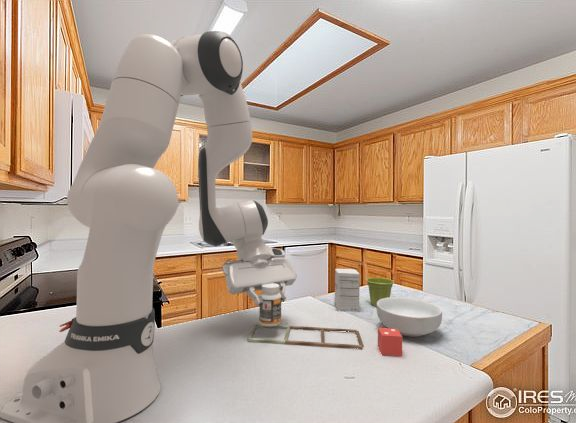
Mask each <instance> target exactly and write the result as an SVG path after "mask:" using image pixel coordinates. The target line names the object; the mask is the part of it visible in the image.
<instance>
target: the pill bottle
mask: <svg viewBox="0 0 576 423" xmlns="http://www.w3.org/2000/svg"><path fill="white" fill-rule="evenodd" d="M261 291H262V292H261V293H260V295H259V296H261V297H262V300H263V303H262V305H258V306H259V309H258V312H259V313H258V314H259V315H258V317H259V318H258V319H259V324H261V325H263V326H277V325H281V322H282V301H281V294H280V290H279V285H278V284H275V283H270V284H264V285H262V290H261Z"/></svg>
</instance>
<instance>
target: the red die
mask: <svg viewBox="0 0 576 423" xmlns="http://www.w3.org/2000/svg"><path fill="white" fill-rule="evenodd" d="M378 347H379V348H378ZM377 348H378V350H379V352H381V353H380V355H381V354H382V355H381V356H386V355H394V356H393V357H401V356H402V357H403V335H401V334H400V332H399V331H398V329H394V328H388V327H377Z"/></svg>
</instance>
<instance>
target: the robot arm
mask: <svg viewBox="0 0 576 423" xmlns="http://www.w3.org/2000/svg"><path fill="white" fill-rule="evenodd" d="M243 64H244V62H243V56H242V52H241V50H240V48H239V46H238V44H237V42H236V41H235V40H234V39H233V38H232V37H231V36H230V35H229V34H228V33H227V32H224V31H217V30H211V31H210V30H209V31H205V32H204V33H203V32H202V33H201V34H200V33H199V34H193V35H189V36H182V37H179V38H176V39H174V40H172V41H169V40H167V39H165V38H163V37H161V36H159V35H158V34H157V35H156V34H152V33H141V34H139V35H136V36H135V37H133V38H132V39H131V40H130V41H129V43H128V45H127V47H126V48H125V50H124V52H123V53H122V55H121V58H120V60H119V62H118V65H117V67H116V69H115V72H114V75H113V77H112V81H111V84H110V88H109V91H108V94H107V98H106V101H105V105H104V108H103V112H102V115H101V119H100V121H99V124H98V127H97V129H96V131H95V134H94V135H93V137H92V139H91V141H90V143H89V146H88V148H87V150H86V152H85V154H84V156H83V159H82V161H81V164H80V166H79V168H78V170H77V172H76V175H75V177H74V180H73V182H72V183H71V186H70V187H69V190H68V191H67V196H66V204H67V208H68V209H69V211H70V213H71V215H72V216H73V218H75V219H76V220H77V221H78V222H79V223H80V224H82V225H83V226H86V227H87V228H88V229H89V232H88V237H87V241H86V244H85V245H86V246H85V250H84V254H83V256H82V261H81V263H80V265H79V266H78V269H77V274H76V310H75V312H76V315H75V317H73V318H72V319H71V320H70V321H67V322H65V323H62V324H60V325H59V327H63V328H60V330H59V331H58V332H59V333H62V332H65V331H66V330H68V331H67V334H66V337H65V339H64V341H63V342H61V343H60V344H59V345H58V346H56V347H55V348H53V349H52V350H51V351H50V352H47V353H46V355H44V356H43V357H41V358H40V359H39V360H37V361H36V362H35V363H34V364H33V365H32V366H31V367H30V368H29V369H28V371H27V373H26V375H25V376H24V381H23V386H22V390H21V391H20V392H18V393H17V394H16V395H14V397H12V398H11V399H10V400H9V401H8V402H7V403H6V404H5V405H4V406H3V407H2V409H1V411H0V418H1V419H2V420H5V421H8V422H11V423H118V422H121V421H124V420H126V419H128V418H130V417H133V416H135V415H136V414H138V413H139V412H141V411H143V410H144V409H146V408H147V407H148V406H149V405H151V404H152V403H153V402H154V400H156V399H157V397H158V395H159V393H160V392H161V389H162V387H161V381H160V379H159V378H160V377H159V375H158V371H157V366H156V361H155V360H156V359H155V353H154V340H155V330H156V319H155V318H156V314H155V313H156V312H155V311H156V310H155V308H154V307H153V296H154V294H153V291H154V270H155V262H156V257H157V254H158V249H159V246H160V243H161V239H162V236H163V233H164V231H165V228H166V227H167V225H168V224H169V223H170V221H172V219H173V218H174V216H175V215H176V212H177V210H178V206H179V205H178V204H179V196H178V192H177V188H176V185H175V183H174V182H173V181H172V180H171V178H170V177H169V176H168V175H167V174H165V173H164V172H162V170H158V169H156V168H155V166H156V165H157V163H158V161H159V159H160V158H161V157H162V156H163V154H164V153H166V151H167V149H168V148H169V146H170V143H171V142H170V141H171V139H172V134H173V131H174V130H173V129H174V126H175V122H176V117H177V113H178V109H179V105H180V101H181V97H183V96H195V95H198V98H200V100H201V102H202V104H203V113H204V118H205V125H206V130H207V134H206V135H207V136H206V142H205V145H204V147H203V148H201V149H200V150H199V153H198V163H197V164H198V166H197V167H198V168H197V172H198V174H197V175H198V176H197V177H198V195H199V196H198V197H199V220H198V232H199V235H200V238H201V239H202V241H203V242H205V243H206V244H207V245H210V246H213V247H218V246H222V245H224V244H227V243H228V242H232V244H233V246H234V248H235V249H236V256H237V258H238V259H237V260H236V259H235V260H226V261H225V262H224V263H223V264H222V265H221V268H222V273H223V274H224V276H225V284H226V289H227V292H228V293H230V294H231V295H238V294H245V293H246V295H247V296H248V297H249V298H250V299H251V300H252V301H254V302H253V303H254V305H255V306H256V307H257V306H259V305H262V303H263V300H262V297H261V296H260V295H259V296H258V294H257V293H256V292H257V291H262V285H264V284H270V283H275V284H278V285H279V293H280V294H281V302H283V301H286V300H287V295H286V293H285V292H286V287H287V286H289V287H290V286H292V285H293V284H294V283H295V282H296V280H297V277H298V275H297V273H296V270H295V268H294V266H293V265H292V263H291V261H290V259H288V258H287V257H286V252H285V251H284V249H280V248H275V247H272V246H269V245H266V243H265V242H264V241H263V238H262V237H263V236H264V234H265V233H266V230H267V228H268V225H269V219H268V216H267V213H266V211H265V209H264V207H263V205H261V204H260V202H257V201H256V200H253V199H252V200H246V201H243V202H238V203H237V202H236V203H235V204H231V205H227V206H226V205H225V206H221V207H217V206H216V205H217V204H216V203H217V202H216V179H217V176H218V175H219V173H220V172H221V171H222V170H224V169H225V168H226V167H228V166H229V165H230V164H233V163H234V162H236V161H238V160H239V159H241V158H242V156H244V155H245V154H246V153H247V152H248V151H249V149H250V148H251V145H252V143H253V128H252V127H253V126H252V121H251V116H250V109H249V105H248V102H247V97H246V95H245V91H244V89H243V85H242V84H241V79H242V77H243V76H242V75H243V71H244V70H243V68H244V66H243ZM255 291H256V292H255Z"/></svg>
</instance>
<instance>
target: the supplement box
mask: <svg viewBox="0 0 576 423" xmlns="http://www.w3.org/2000/svg"><path fill="white" fill-rule="evenodd" d="M334 272H335V274H334V305H335V306H336V311H338V310H340V311H339V312H360V287H361V286H360V285H361V284H360V283H361V282H360V279H361V276H360V275H361V273H360V272H358V270H357V269H354V268H335V269H334Z"/></svg>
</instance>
